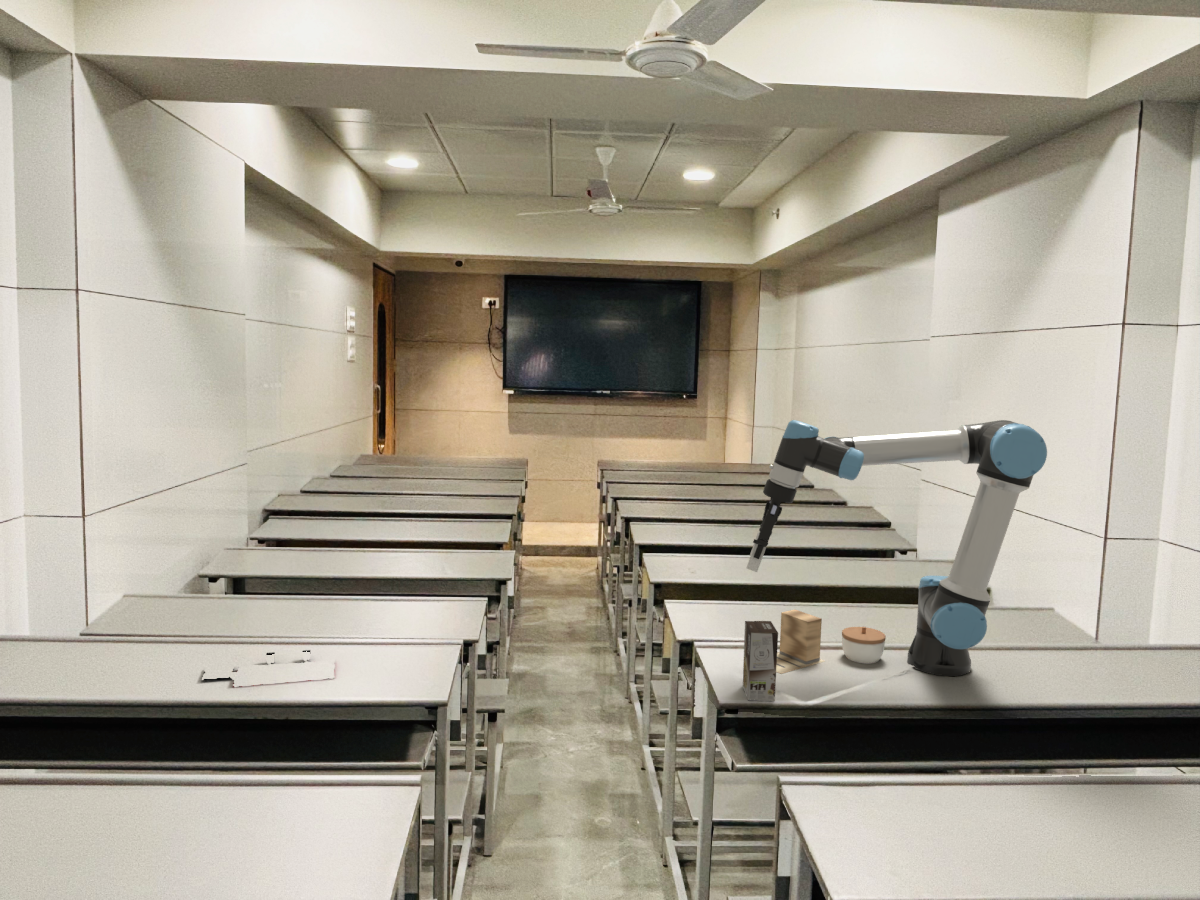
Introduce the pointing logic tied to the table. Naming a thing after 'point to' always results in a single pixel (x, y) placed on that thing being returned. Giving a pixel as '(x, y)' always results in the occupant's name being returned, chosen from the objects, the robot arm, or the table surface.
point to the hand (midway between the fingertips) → (753, 563)
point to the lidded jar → (863, 644)
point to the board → (790, 664)
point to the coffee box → (760, 660)
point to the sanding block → (800, 636)
